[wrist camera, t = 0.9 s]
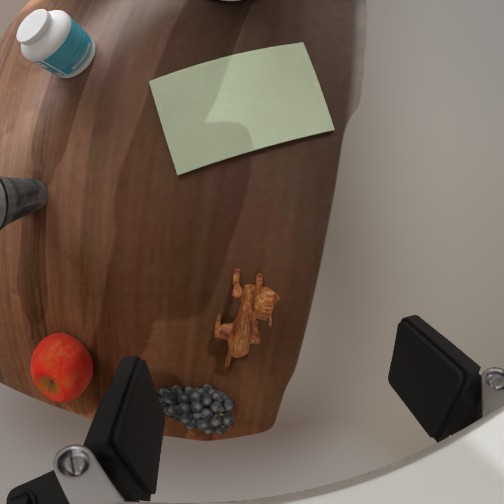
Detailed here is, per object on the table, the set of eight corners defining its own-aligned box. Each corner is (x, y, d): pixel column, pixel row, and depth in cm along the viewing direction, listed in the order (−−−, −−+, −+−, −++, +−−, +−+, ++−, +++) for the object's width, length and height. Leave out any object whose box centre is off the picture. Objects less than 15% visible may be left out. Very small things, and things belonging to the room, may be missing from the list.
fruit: (138, 430, 36) (234, 445, 38) (140, 385, 37) (243, 401, 39) (147, 407, 44) (230, 421, 46) (151, 367, 45) (237, 381, 47)
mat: (149, 82, 33) (148, 81, 32) (302, 43, 33) (303, 42, 33) (178, 175, 37) (177, 175, 36) (333, 130, 37) (334, 129, 37)
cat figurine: (246, 365, 45) (256, 426, 32) (205, 359, 44) (204, 421, 31) (275, 261, 41) (302, 301, 28) (229, 251, 40) (235, 289, 27)
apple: (42, 356, 41) (17, 390, 31) (52, 314, 39) (21, 346, 29) (90, 386, 43) (71, 425, 33) (105, 347, 42) (83, 387, 31)
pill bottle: (99, 32, 29) (63, -9, 16) (94, 72, 31) (51, 39, 18) (58, 45, 28) (15, 13, 15) (53, 85, 30) (2, 61, 17)
